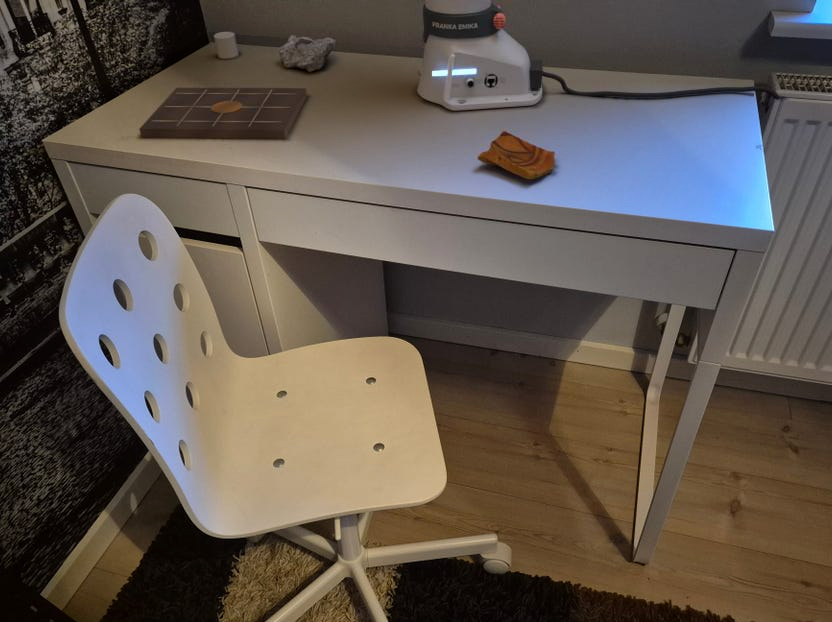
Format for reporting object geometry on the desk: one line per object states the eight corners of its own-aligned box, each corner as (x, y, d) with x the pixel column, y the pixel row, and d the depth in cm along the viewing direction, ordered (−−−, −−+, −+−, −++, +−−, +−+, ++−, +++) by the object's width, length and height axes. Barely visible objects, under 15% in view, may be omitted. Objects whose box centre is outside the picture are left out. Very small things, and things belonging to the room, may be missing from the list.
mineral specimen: (317, 79, 128) (266, 66, 132) (347, 64, 136) (298, 51, 139) (316, 47, 124) (264, 34, 128) (347, 33, 132) (297, 21, 135)
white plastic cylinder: (241, 51, 140) (237, 31, 137) (235, 58, 137) (231, 38, 134) (221, 51, 140) (217, 31, 138) (215, 58, 137) (211, 38, 134)
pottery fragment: (499, 128, 101) (562, 129, 97) (502, 156, 104) (564, 159, 100) (470, 156, 95) (537, 159, 90) (475, 186, 98) (539, 190, 93)
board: (307, 96, 121) (305, 87, 120) (285, 139, 108) (283, 129, 107) (178, 95, 123) (176, 86, 122) (141, 137, 109) (138, 128, 108)
